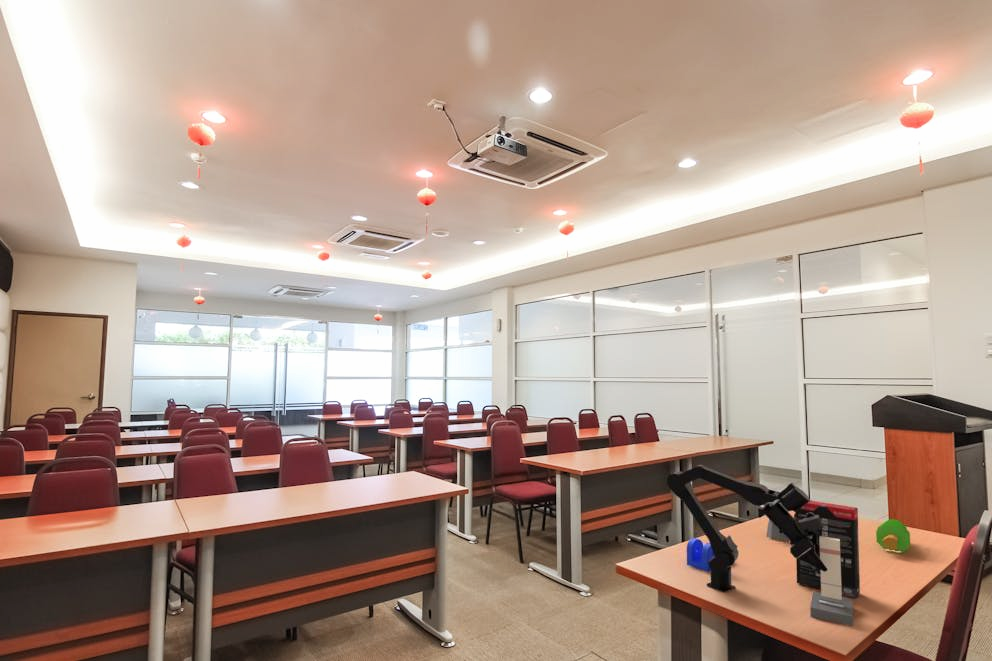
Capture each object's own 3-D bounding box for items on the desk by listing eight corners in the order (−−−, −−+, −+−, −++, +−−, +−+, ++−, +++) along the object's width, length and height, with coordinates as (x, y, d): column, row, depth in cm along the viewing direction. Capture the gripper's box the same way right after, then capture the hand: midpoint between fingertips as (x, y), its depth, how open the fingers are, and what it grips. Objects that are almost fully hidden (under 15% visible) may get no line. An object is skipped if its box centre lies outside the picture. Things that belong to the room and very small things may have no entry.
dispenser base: (810, 616, 151) (810, 604, 151) (813, 599, 162) (813, 588, 163) (852, 626, 145) (852, 613, 145) (852, 608, 157) (852, 596, 157)
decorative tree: (880, 522, 207) (886, 506, 230) (868, 547, 209) (875, 529, 232) (915, 539, 200) (917, 521, 223) (902, 565, 202) (906, 544, 225)
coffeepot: (762, 539, 224) (761, 495, 225) (759, 533, 232) (758, 491, 234) (804, 543, 218) (802, 499, 220) (799, 537, 227) (798, 494, 229)
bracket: (707, 572, 184) (706, 545, 185) (686, 565, 191) (686, 539, 192) (737, 563, 194) (736, 537, 195) (716, 556, 201) (716, 532, 202)
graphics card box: (861, 593, 168) (858, 505, 170) (858, 600, 163) (854, 509, 165) (801, 579, 179) (798, 496, 181) (796, 585, 174) (793, 500, 176)
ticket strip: (821, 595, 155) (819, 537, 156) (821, 593, 156) (819, 535, 158) (841, 600, 152) (839, 540, 153) (841, 597, 154) (839, 539, 155)
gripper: (802, 511, 152) (849, 559, 145) (806, 499, 167) (849, 542, 160) (772, 534, 156) (816, 582, 149) (779, 520, 171) (819, 563, 164)
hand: (826, 566), depth 155 cm, fingers open, 9 cm apart
